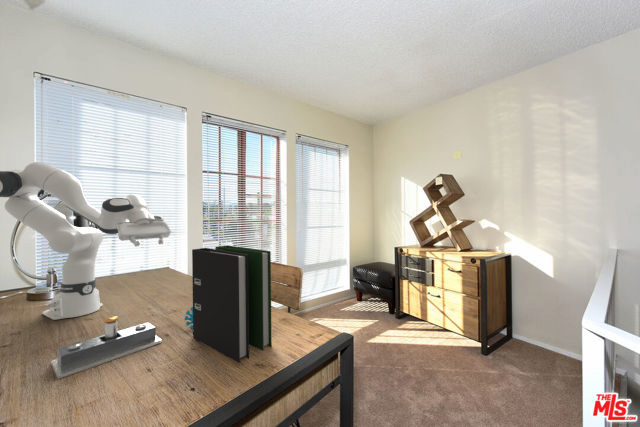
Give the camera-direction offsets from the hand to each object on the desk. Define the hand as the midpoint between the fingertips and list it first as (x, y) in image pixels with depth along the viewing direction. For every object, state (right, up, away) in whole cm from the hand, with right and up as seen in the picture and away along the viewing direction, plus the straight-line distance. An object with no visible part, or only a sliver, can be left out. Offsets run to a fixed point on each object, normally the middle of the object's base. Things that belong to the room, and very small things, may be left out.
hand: (149, 244), depth 118 cm
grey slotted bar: (+8, -31, -32) cm, 45 cm away
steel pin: (+8, -30, -32) cm, 45 cm away
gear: (+28, -31, -12) cm, 44 cm away
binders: (+45, -31, -26) cm, 60 cm away
